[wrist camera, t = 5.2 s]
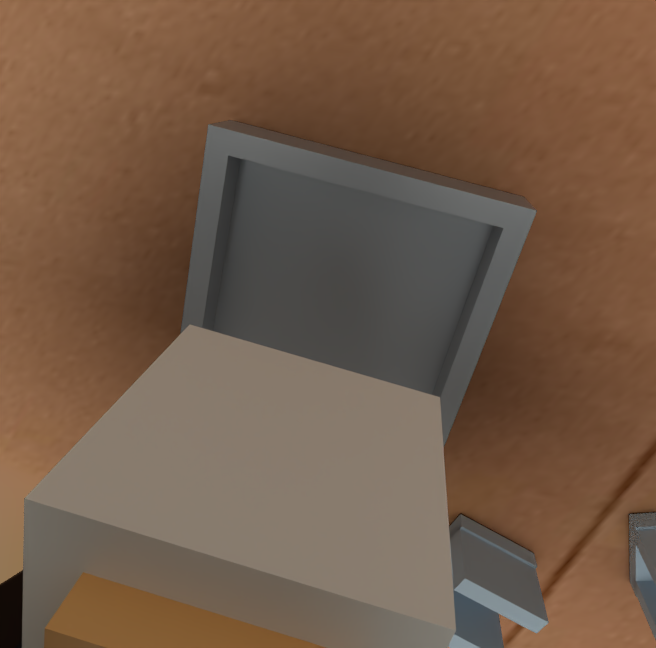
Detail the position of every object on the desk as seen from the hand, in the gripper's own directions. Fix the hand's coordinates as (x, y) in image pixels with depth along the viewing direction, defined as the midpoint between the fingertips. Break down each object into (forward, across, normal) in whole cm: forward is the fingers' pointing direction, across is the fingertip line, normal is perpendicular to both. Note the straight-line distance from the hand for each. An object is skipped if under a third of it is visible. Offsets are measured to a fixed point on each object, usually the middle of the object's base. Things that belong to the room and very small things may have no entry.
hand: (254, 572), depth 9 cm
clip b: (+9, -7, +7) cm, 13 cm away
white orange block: (+1, 0, 0) cm, 1 cm away
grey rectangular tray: (+9, 0, 0) cm, 9 cm away
